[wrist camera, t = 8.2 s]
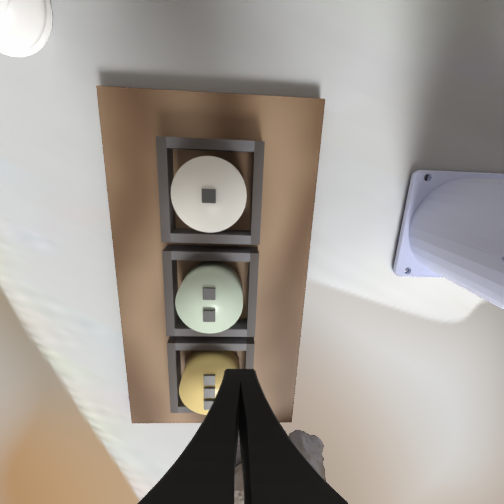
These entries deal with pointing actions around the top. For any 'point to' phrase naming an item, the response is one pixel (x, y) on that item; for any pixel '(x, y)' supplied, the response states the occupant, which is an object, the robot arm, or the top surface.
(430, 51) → the top surface
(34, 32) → the chess piece
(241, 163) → the button board
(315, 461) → the stone
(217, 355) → the button three
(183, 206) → the button one
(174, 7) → the top surface
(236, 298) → the button two
